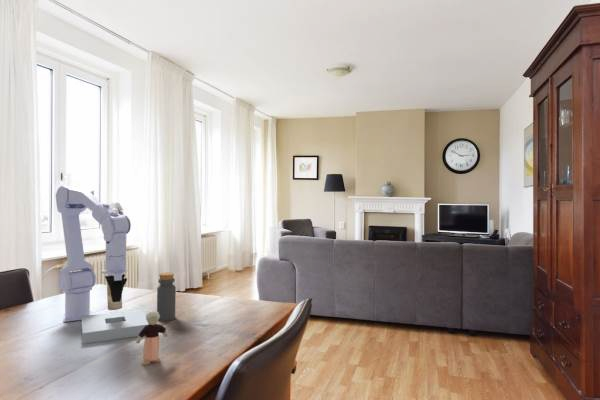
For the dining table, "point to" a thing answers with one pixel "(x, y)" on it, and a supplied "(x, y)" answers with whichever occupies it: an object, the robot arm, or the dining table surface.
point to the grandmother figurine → (151, 338)
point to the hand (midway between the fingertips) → (115, 299)
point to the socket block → (112, 325)
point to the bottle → (166, 297)
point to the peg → (112, 304)
